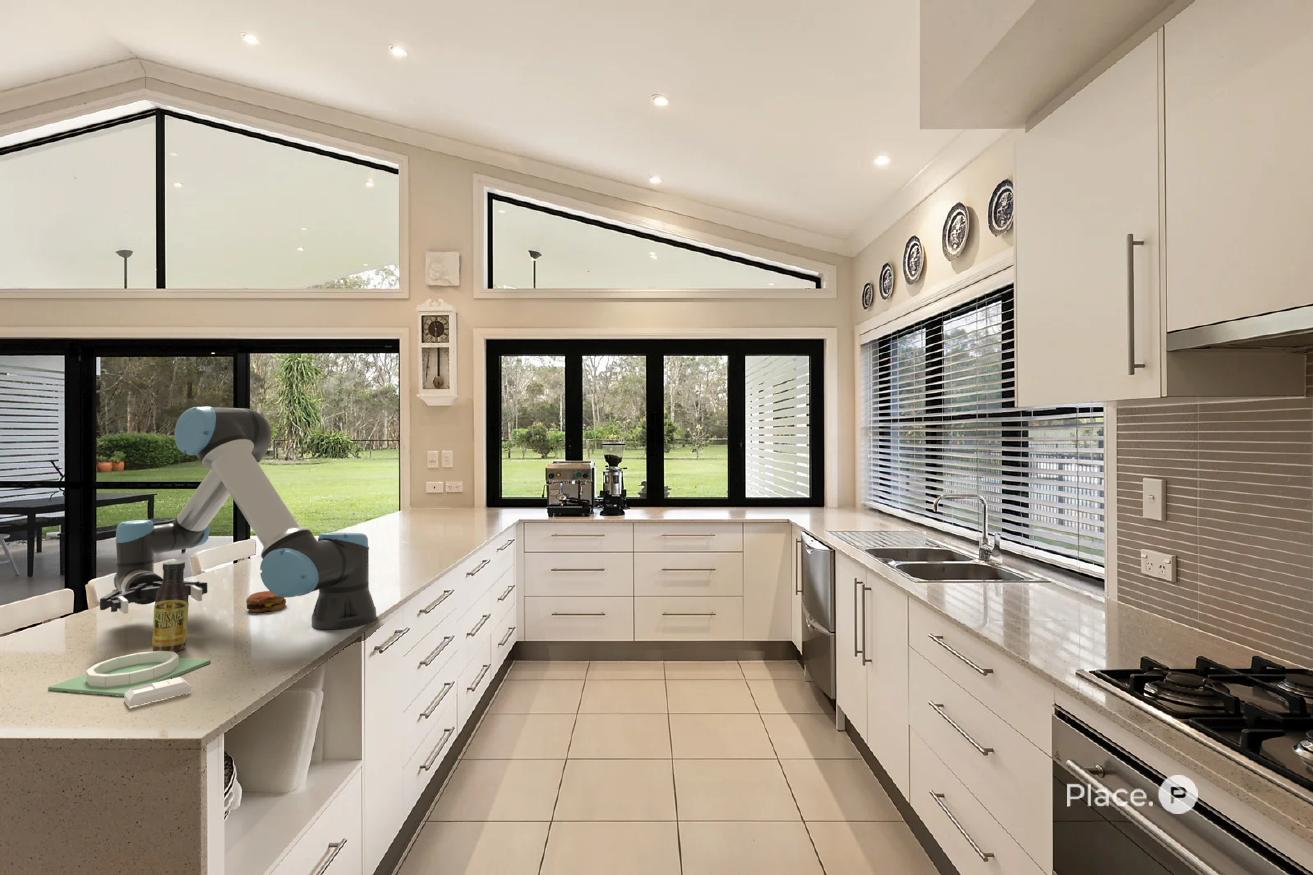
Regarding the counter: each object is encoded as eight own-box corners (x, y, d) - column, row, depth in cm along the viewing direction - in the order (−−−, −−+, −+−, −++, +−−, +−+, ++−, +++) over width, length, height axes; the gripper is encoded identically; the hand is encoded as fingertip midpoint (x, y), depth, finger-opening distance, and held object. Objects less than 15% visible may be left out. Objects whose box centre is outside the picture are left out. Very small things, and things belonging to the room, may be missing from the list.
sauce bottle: (149, 656, 139) (149, 566, 139) (155, 648, 145) (156, 561, 145) (185, 652, 142) (186, 563, 142) (190, 644, 148) (191, 558, 148)
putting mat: (210, 662, 136) (210, 650, 136) (125, 697, 118) (125, 683, 118) (140, 657, 139) (140, 645, 139) (48, 690, 121) (48, 676, 121)
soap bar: (190, 695, 120) (190, 681, 120) (129, 711, 113) (129, 696, 113) (184, 688, 123) (184, 674, 123) (124, 703, 116) (124, 689, 116)
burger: (267, 603, 184) (267, 587, 184) (293, 605, 182) (293, 589, 182) (236, 612, 175) (236, 595, 175) (263, 615, 172) (263, 598, 172)
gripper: (203, 592, 168) (228, 606, 154) (76, 612, 150) (92, 630, 136) (203, 564, 168) (227, 575, 154) (76, 581, 149) (91, 595, 136)
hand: (164, 601), depth 145 cm, fingers open, 13 cm apart
